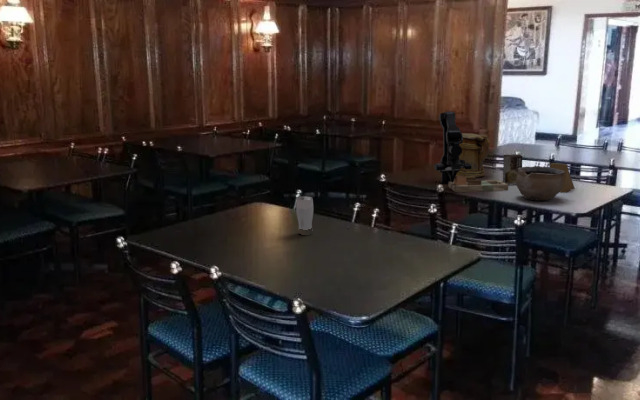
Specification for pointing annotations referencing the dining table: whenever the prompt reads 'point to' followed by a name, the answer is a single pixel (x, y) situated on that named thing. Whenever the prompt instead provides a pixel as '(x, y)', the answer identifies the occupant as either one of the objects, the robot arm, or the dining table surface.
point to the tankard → (473, 154)
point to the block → (460, 180)
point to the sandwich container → (564, 177)
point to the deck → (479, 185)
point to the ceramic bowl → (539, 182)
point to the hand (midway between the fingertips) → (452, 182)
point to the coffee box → (511, 168)
